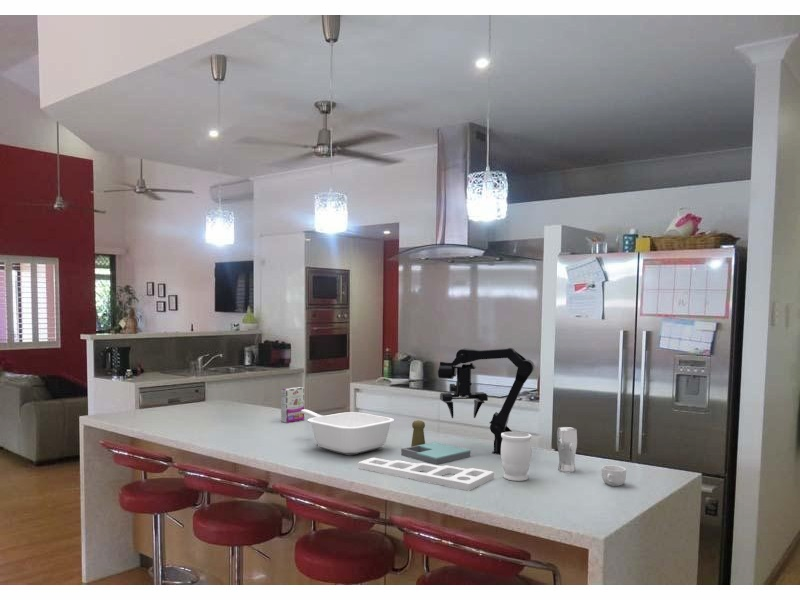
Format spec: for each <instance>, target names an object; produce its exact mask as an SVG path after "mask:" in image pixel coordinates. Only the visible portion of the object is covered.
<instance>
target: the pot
mask: <svg viewBox="0 0 800 600" xmlns="http://www.w3.org/2000/svg"><path fill="white" fill-rule="evenodd" d="M301 413H303V414H304V415H306V416H308V417H310V418H308V419H307V423H311V428H312V432H313V438H314V440H315V443H316V444H317V446H318V447H320V448H321V449H323V450H326V451H330V452H334V453H336V454H340V455H341V454H342V455H345V456H354V455H359V453H360V454H363V453H368V452H372V451H375V450H378V449H380V448H381V447H383V446H384V444H385V443H386V442H387V438H388V434H389V430H390V426H391V423H392V424H393V423H394V422H395V419H394V418H392V417H387V416H381V415H376V414H371V413H366V412H359V411H357V412H356V411H347V412H339V413H334V414H333V413H332V414H326V415H322V414H319V413H316V412H315V411H312V410H309V409H307V408H306V409H305V408H304V409H303V410H301Z"/></svg>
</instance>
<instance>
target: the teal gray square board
mask: <svg viewBox="0 0 800 600" xmlns="http://www.w3.org/2000/svg"><path fill="white" fill-rule="evenodd" d="M400 451H401V452H400V453H401V456H403V457H407V458H410V457H411V459H415V460H419V461H422V462H424V463H428V464H432V465H437V466H438V465H440V464H445V463H449V462H453V460H454V461H457V460H462V459H466V458H470V457H471V450H470V449H468V448H463V447H460V446H459V447H458V446H456V445H455V446H454V445H451V444H446V443H441V442H439V441H438V442H437V441H433V442H427V443H425V444H422V445H417V446H412V447H411V446H406V447H403V448H401V449H400ZM469 456H470V457H469Z"/></svg>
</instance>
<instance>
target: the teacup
mask: <svg viewBox="0 0 800 600" xmlns="http://www.w3.org/2000/svg"><path fill="white" fill-rule="evenodd" d="M601 478H602V480H603V482H604V483H605V484H606V485H608V484H609V485H608V486H610V485H614V486H613V487H620V486H619V485H621V486H622V485H624V484H625V481H626V480H627V479H626V478H627V468H626V467H624V466H622V465H621V466H619V465H616V464H615V465H611V464H607V465H602V467H601Z"/></svg>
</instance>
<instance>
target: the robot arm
mask: <svg viewBox="0 0 800 600" xmlns="http://www.w3.org/2000/svg"><path fill="white" fill-rule="evenodd" d="M491 359H492V360H493V359H508V360H509V361H510V362H511V363H512V364H513V365H514V366H515V367H516V368H517V370H516V373H515V378H514V379H515V380H514V381H513V384H512V386H511V388H510V390H509V391H508V394H507V397H506V398H505V400H504V402H503V405H502V407H501V409H500V411H499V412H497V411H495V413H493V415H492V419H491V420H490V421H489V424H490V426H489V430H490V432H491V434H493V435H494V440H493V450H492V451H491V454H495V453H496V454H495V455H499V454H500V456H501V443H502V439H503V438H502V437H501V433H503V432H513V431H512V430H511V429H510V427H508V422H509V419H510V414H511V412H512V409H513V408H514V405H515V403H516V401H517V399H518V397H519V395H520V393H521V391H522V389H523V387H524V384H525V383H526V381H527V380H528V379H529V377H530V376H531V375H532V373H533V372H534V371H535V363H534V362H533V361H532V360H531V359H527V358H525V357H524V356H523V355H522V354H520V353H519V352H518V351H516V350H515V348H513V347H508V348H495V349H475V348H469V347H468V348H466V347H464V348H462V349H459V350H457V352H456V355H455V358H454V360H452V362H446V361H440V362H439V366H438V370H437V376H438V378H439V379H447V380H448V379H449V380H453V379H454V378H455V377H456V383H450V384H449V392H441V393H440V394H439V400H440V401H442V402H443V403H445V404H446V405H447V408H448V411H449V413H450V416H451V417H450V418H451V419H454V402H453V401H452V400H473V403H474V404H473V405H474V406H473V418H474V419H476V418H477V415H478V412H479V411H480V408H481V407H482V405H483V404H485V402H486V401H488V399H489V397H488V394H487V393H485V392H484V391H482V392H481V391H477V392H476V391H475V392H474V394H472V370H475V369H476V368H477V366H476V365H475V364H474V363H473V362H476V361H479V360H491ZM468 363H470V364H468ZM459 365H461V366H459ZM452 393H453V394H452Z"/></svg>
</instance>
